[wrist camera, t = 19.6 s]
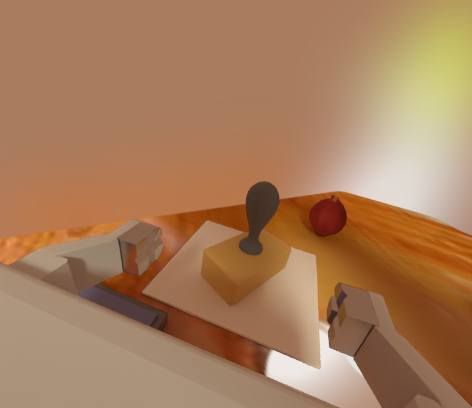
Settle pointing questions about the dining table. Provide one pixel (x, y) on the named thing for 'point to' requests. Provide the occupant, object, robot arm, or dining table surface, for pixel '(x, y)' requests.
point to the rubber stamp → (247, 250)
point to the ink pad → (125, 306)
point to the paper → (247, 298)
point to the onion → (328, 216)
